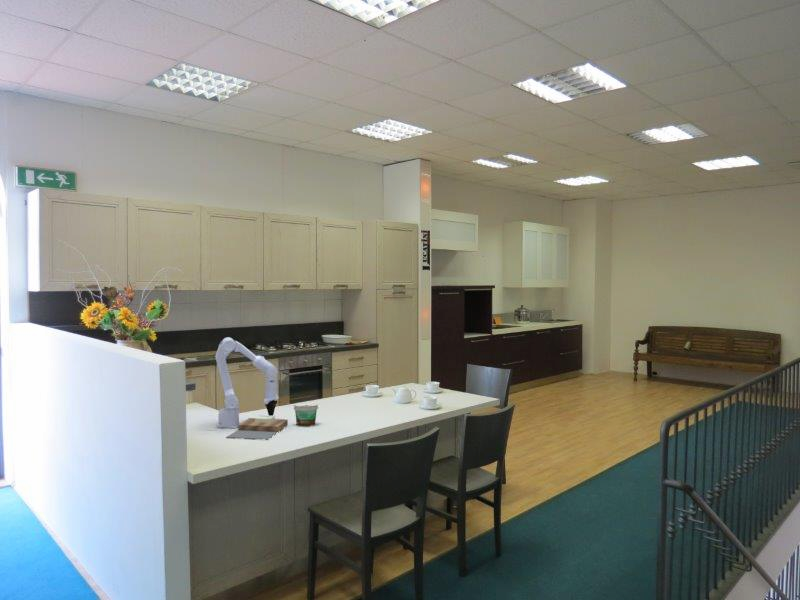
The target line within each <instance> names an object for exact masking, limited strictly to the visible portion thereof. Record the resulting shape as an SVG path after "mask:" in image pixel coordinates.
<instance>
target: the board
mask: <svg viewBox="0 0 800 600" xmlns="http://www.w3.org/2000/svg"><path fill="white" fill-rule="evenodd" d="M255 418H256V417H254V418H253V417H249V418H247V419H245V420H244V421H241V423H240V422H239V423H240V424H239V425H238V427H237V430H243V431H264V432H278V433H280V432H281V431H282V430H284V429H285V428H286V427H287V425H288V419H285V418H284V419H282V418H281V419H280V418H275V420H274V421H273V422H271V423H259V422H255ZM284 427H285V428H284ZM283 428H284V429H283ZM281 429H282V430H281ZM280 430H281V431H280ZM279 431H280V432H279Z"/></svg>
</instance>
